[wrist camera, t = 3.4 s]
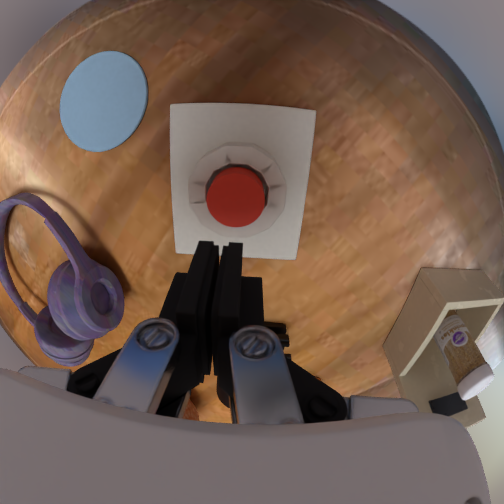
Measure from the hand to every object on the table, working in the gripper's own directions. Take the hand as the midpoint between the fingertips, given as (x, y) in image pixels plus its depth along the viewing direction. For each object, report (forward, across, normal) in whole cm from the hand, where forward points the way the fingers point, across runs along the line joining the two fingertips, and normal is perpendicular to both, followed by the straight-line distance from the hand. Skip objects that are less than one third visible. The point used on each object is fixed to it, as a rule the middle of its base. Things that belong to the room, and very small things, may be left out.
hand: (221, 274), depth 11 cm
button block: (+12, 0, 0) cm, 12 cm away
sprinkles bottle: (+13, -26, +14) cm, 32 cm away
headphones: (+13, +22, +10) cm, 27 cm away
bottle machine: (+12, -26, +14) cm, 32 cm away
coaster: (+12, +12, -8) cm, 19 cm away
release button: (+9, 0, 0) cm, 9 cm away
